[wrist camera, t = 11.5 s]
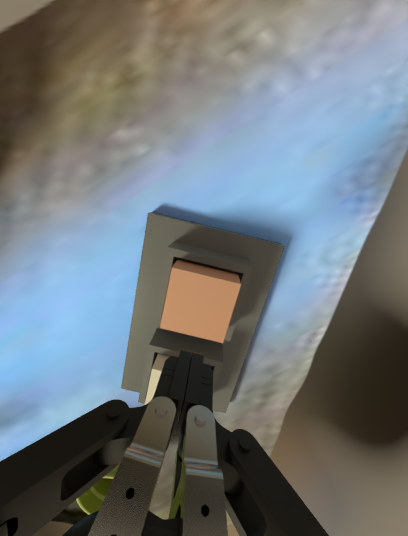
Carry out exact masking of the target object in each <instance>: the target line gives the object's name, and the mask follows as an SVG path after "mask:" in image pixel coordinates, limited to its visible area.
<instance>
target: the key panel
mask: <svg viewBox="0 0 408 536" xmlns="http://www.w3.org/2000/svg"><path fill="white" fill-rule="evenodd" d="M283 249H284V246H283V245H282V244H279V243H275V242H271V241H267V240H263V239H259V238H255V237H250V236H246V235H242V234H238V233H234V232H230V231H226V230H222V229H218V228H214V227H210V226H206V225H202V224H198V223H194V222H189V221H185V220H181V219H177V218H173V217H169V216H165V215H161V214H157V213H153V212H150V213H148V217H147V224H146V230H145V237H144V243H143V250H142V256H141V263H140V269H139V276H138V282H137V289H136V295H135V302H134V308H133V315H132V321H131V328H130V334H129V341H128V347H127V354H126V360H125V367H124V373H123V380H122V386H121V388H122V389H126V390H130V391H135V392H139V393H140V395H139V400H138V402H141V403H145V401H146V396H147V391H148V386H149V381H150V376H151V371H152V367H153V365H154V362H155V360H156V357H157V355H158V353H161V354H166V355H170V356H175V357H179V354H180V350H181V349H183V350H187V351H191V352H196V353H200V354H204V358H203V363H204V364H208V365H211V368H212V370H213V410H215V411H219V412H224V413H226V411H227V408H228V405H229V402H230V399H231V396H232V394H233V391H234V388H235V385H236V382H237V379H238V377H239V374H240V371H241V368H242V365H243V362H244V360H245V357H246V354H247V351H248V348H249V345H250V343H251V340H252V337H253V334H254V331H255V328H256V326H257V323H258V320H259V317H260V314H261V312H262V309H263V306H264V303H265V300H266V297H267V295H268V292H269V289H270V286H271V283H272V280H273V278H274V275H275V272H276V269H277V266H278V263H279V261H280V258H281V255H282V252H283ZM177 260H182V261H186V262H190V263H194V264H198V265H202V266H207V267H211V268H215V269H219V270H223V271H227V272H231V273H235V274H238V275H239V279H240V282H241V287H240V290H239V293H238V296H237V300H236V303H235V306H234V309H233V313H232V316H231V319H230V322H229V325H228V329H227V332H226V335H225V338H224V342H223V343H220V342H216V341H212V340H208V339H203V338H199V337H195V336H191V335H187V334H183V333H178V332H174V331H170V330H166V329H162V328H160V324H161V320H162V315H163V310H164V305H165V300H166V295H167V290H168V285H169V280H170V275H171V270H172V267H173V265H174V264H175V262H176V261H177ZM191 356H192V353H191Z"/></svg>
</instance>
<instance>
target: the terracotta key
mask: <svg viewBox="0 0 408 536" xmlns="http://www.w3.org/2000/svg"><path fill="white" fill-rule="evenodd" d="M240 287H241V282H240V279H239V275H238V274H235V273H231V272H227V271H223V270H219V269H215V268H211V267H207V266H202V265H198V264H194V263H190V262H186V261H182V260H177V261H176V262H175V264H174V265H173V267H172V270H171V275H170V280H169V285H168V290H167V295H166V300H165V305H164V310H163V315H162V320H161V324H160V328H162V329H166V330H170V331H174V332H178V333H183V334H187V335H191V336H195V337H199V338H203V339H208V340H212V341H216V342H220V343H223V342H224V338H225V335H226V332H227V329H228V325H229V322H230V319H231V316H232V313H233V309H234V306H235V303H236V300H237V296H238V293H239V290H240Z"/></svg>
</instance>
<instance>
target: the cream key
mask: <svg viewBox="0 0 408 536" xmlns="http://www.w3.org/2000/svg"><path fill="white" fill-rule="evenodd" d="M168 357H170V355H166V354H161V353H158V355H157V357H156V360H155V362H154V365H153V367H152V371H151V376H150V381H149V386H148V391H147V396H146V401H145V405H146V404H148V403H149V402H150V401H151V400H152V398H153V396H154V393H155V390H156V387H157V384H158V381H159V378H160V375H161V372H162V369H163V366H164V363H165V360H166V359H167V358H168ZM210 366H211V365H210Z"/></svg>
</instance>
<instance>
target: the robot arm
mask: <svg viewBox="0 0 408 536" xmlns="http://www.w3.org/2000/svg"><path fill="white" fill-rule="evenodd" d="M191 353H192V356H191ZM203 358H204V354H200V353H196V352H191V351H187V350H183V349H181V350H180V354H179V357H175V356H170V357H168V358H167V359H166V360H165V363H164V366H163V369H162V372H161V375H160V378H159V381H158V384H157V387H156V390H155V393H154V396H153V398H152V400H151V401H150V402H149V403H148V404H146V405H144V406H141V407H136V408H129V407H128V405H127V404H126V403H125V402H124V401H122V400H111V401H108V402H106V403H104V404H102V405H100V406H99V407H97V408H95V409H93V410H92V411H90V412H88V413H86V414H84V415H83V416H81V417H79V418H77V419H75V420H74V421H72V422H70V423H68V424H67V425H65V426H63V427H61V428H59V429H58V430H56V431H54V432H52V433H50V434H49V435H47V436H45V437H43V438H42V439H40V440H38V441H36V442H34V443H33V444H31V445H29V446H27V447H25V448H24V449H22V450H20V451H18V452H17V453H15V454H13V455H11V456H9V457H8V458H6V459H4V460H2V461H0V536H32V535H33V534H35V533H36V532H37V531H38V530H40V529H41V528H42V527H43V526H44V525H46V524H47V523H48V522H49V521H50V520H52V519H53V518H54V517H55V516H57V515H58V514H59V513H60V512H61V511H63V510H64V509H65V508H66V507H68V506H69V505H70V504H71V503H72V502H74V501H75V500H76V499H77V498H79V497H80V496H81V495H82V494H83V493H85V492H86V491H87V490H88V489H89V488H91V487H92V486H93V485H94V484H96V483H97V482H98V481H99V480H100V479H102V478H103V477H104V476H105V475H107V474H108V473H109V472H110V471H111V470H113V469H114V468H115V467H116V466H117V465H118V464H119V463H120V465H119V467H118V469H117V471H116V474H115V476H114V478H113V480H112V483H111V485H110V487H109V489H108V492H107V494H106V496H105V498H104V501H103V503H102V505H101V507H100V510H99V511H96V512H94V513H91V514H89V515H88V516H86V517H84V518H83V519H81V520H80V521H79V522H77V523H76V524H75V525H73V526H72V527H71V528H70V529H69V530H68V531H67V532H66V533H65V534H64V535H63V536H228V530H227V517H226V511H227V512H228V514H229V516H230V518H231V520H232V522H233V524H234V526H235V528H236V530H237V532H238V534H239V535H240V536H329V535H328V534H327V533H326V531H325V530H324V529H323V527H322V526H321V525H320V524H319V522H318V521H317V519H316V518H315V517H314V516H313V514H312V513H311V512H310V510H309V509H308V508H307V506H306V505H305V504H304V502H303V501H302V500H301V498H300V497H299V496H298V494H297V493H296V492H295V490H294V489H293V488H292V487H291V485H290V484H289V483H288V481H287V480H286V479H285V477H284V476H283V475H282V474H281V472H280V471H279V469H278V468H277V467H276V465H275V464H274V463H273V461H272V460H271V459H270V458H269V456H268V455H267V454H266V452H265V451H264V450H263V448H262V447H261V446H260V444H259V443H258V442H257V440H256V439H255V438H254V437H253V435H252V434H250V433H249V432H248V431H246V430H243V429H237V430H234V431H233V432H230V431H229V430H227V429H225V428H224V427H222V426H221V425H220V424H219V423H218V422H217V421H216V419H215V417H214V415H213V370H212V368H211V366H210V365H208V364H204V363H203ZM177 423H178V424H177ZM176 426H177V429H176ZM175 430H176V435H175V436H180V438H179V444H178V448H177V452H176V459H175V469H174V479H173V489H172V500H171V508H170V513H169V519H166V520H163V519H161V518H159V517H158V516H156V515H154V514H153V513H151V512H150V511H149V510H150V506H151V502H152V499H153V495H154V491H155V488H156V484H157V481H158V477H159V473H160V470H161V466H162V463H163V459H164V455H165V452H166V450H167V448H168V446H169V442H170V438H171V435H174V434H175Z"/></svg>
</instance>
